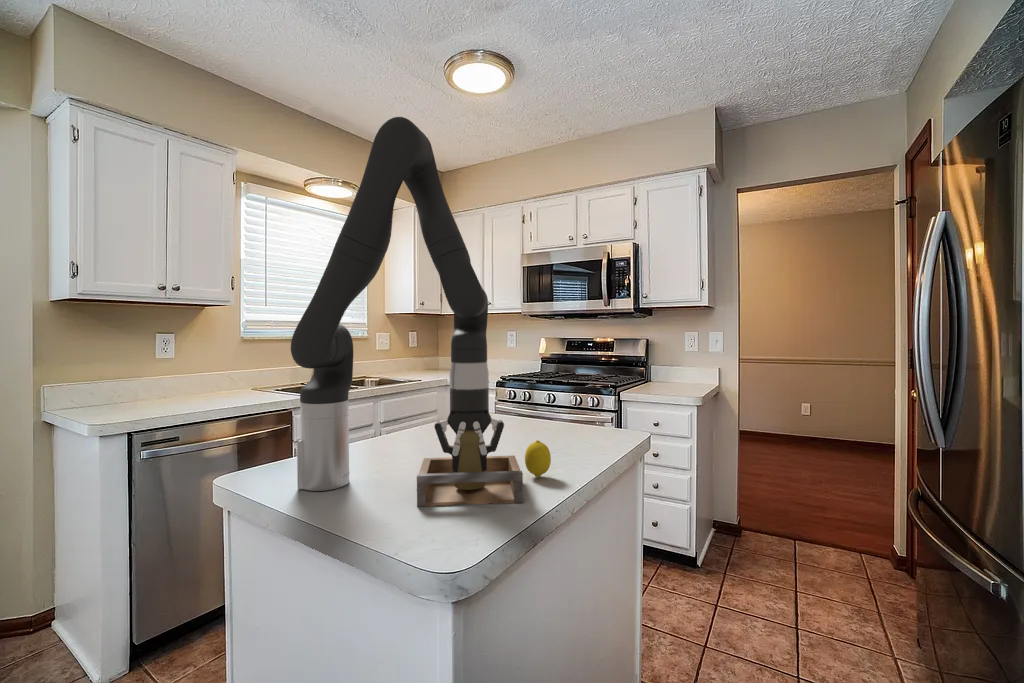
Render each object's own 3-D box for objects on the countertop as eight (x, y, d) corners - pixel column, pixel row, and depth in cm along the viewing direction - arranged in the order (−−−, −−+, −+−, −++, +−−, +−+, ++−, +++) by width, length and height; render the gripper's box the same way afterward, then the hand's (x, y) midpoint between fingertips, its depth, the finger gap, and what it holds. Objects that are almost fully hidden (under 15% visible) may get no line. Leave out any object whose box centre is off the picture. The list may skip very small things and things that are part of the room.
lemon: (550, 474, 106) (550, 437, 105) (550, 481, 100) (550, 443, 100) (525, 473, 106) (525, 437, 106) (523, 481, 101) (523, 443, 101)
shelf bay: (417, 506, 86) (416, 476, 86) (424, 482, 100) (423, 455, 100) (522, 502, 88) (522, 472, 88) (514, 478, 102) (514, 453, 102)
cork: (454, 480, 97) (454, 425, 96) (485, 479, 97) (484, 425, 97) (453, 490, 91) (453, 432, 90) (485, 489, 91) (485, 431, 91)
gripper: (430, 388, 89) (431, 480, 89) (507, 387, 90) (507, 478, 91) (433, 384, 96) (434, 469, 97) (504, 383, 98) (504, 467, 98)
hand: (469, 473), depth 94 cm, fingers closed on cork, 4 cm apart
